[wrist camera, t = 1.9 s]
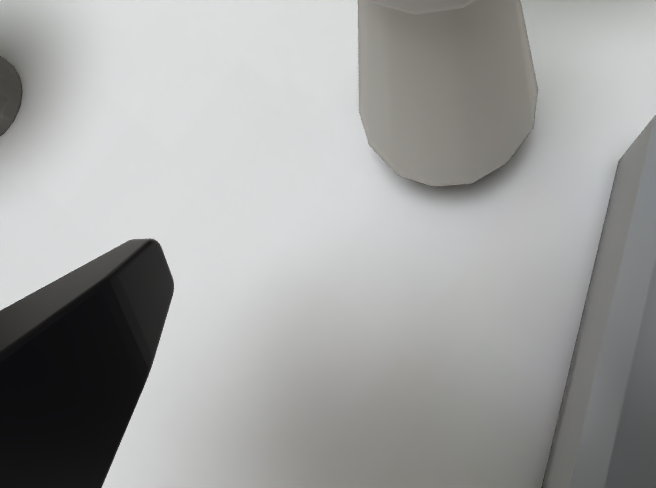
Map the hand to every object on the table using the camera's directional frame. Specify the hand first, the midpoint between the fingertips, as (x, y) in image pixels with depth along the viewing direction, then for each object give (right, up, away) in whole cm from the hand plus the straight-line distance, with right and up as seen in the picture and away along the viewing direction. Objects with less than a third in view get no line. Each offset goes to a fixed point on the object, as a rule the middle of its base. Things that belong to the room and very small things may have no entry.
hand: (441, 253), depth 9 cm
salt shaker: (+3, +4, +13) cm, 14 cm away
